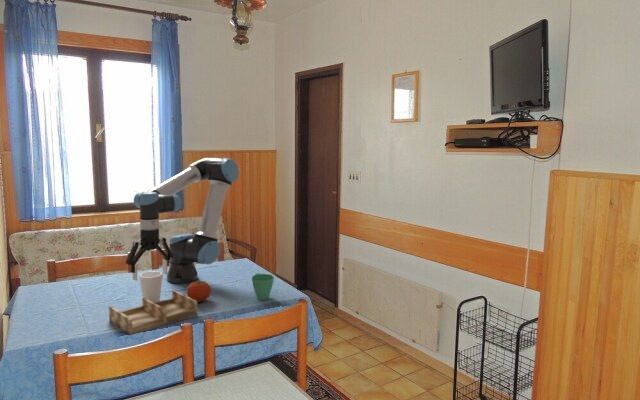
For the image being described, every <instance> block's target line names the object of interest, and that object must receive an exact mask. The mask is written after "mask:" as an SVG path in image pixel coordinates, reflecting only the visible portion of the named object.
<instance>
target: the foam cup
mask: <svg viewBox="0 0 640 400" xmlns="http://www.w3.org/2000/svg"><path fill="white" fill-rule="evenodd" d="M163 276H164V274H163V271H162V272H161V271H157V270H152V271H150V270H148V271H144V272H141V273H140V274H139V276H138V277H139V283H140V290H141V294H142V298H146V299H148V300H150V301H152V302H154V303H155V302H159V301H161V293H162V286H163V285H162V283H163V279H164V277H163Z"/></svg>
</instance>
